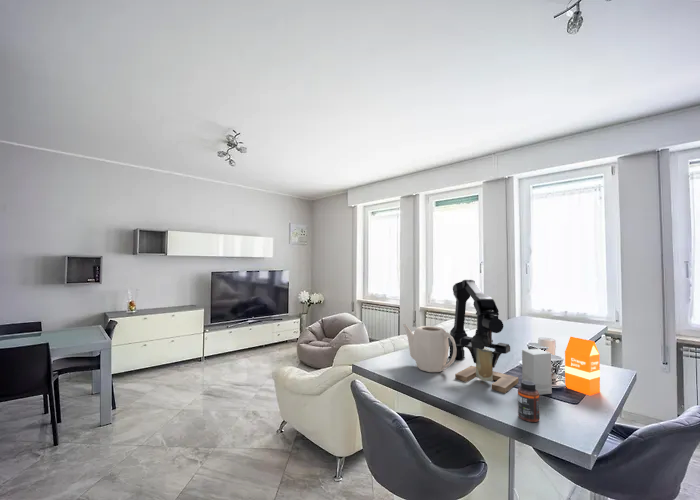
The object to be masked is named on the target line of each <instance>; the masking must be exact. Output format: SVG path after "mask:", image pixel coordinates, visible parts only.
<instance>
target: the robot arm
mask: <svg viewBox="0 0 700 500" xmlns="http://www.w3.org/2000/svg"><path fill="white" fill-rule="evenodd" d="M452 292H453V296H454V298H455V311H454V313H455V314H454V323H453V327H452V328H451V330H450V332H449V334H450V335H451V336H452V337H453V338H454V341H455V344H456V349H457V352H456V358H455V360H456V361H462V360H464V359H466V356H465V353H466V352H465V348H466V349H467V350H469V352H470V354H471V359H472V360H473V363H474V364H476V348H479V349H484V347H486V348H487V349H494V351H493V352H492V353H493V363H492V366H493V369H494V368H495V367H496V365H497V363H498V361H499V360H498V359H499V358H500V356H501V355H502V354H503V355H504V354H508V353H509V352H511V346H510V344H509V343H504V342H498V343H494V340H493V336H492V335H493V333H494V334H499V333H501V332H502V331H503V329H504V322H503V321H502V320H501V319H499V315H500V314H499V309H498V307H497V305H496V301H495V300H494V298H492V297H491V296H490V295H488V294H485V293H484V292H483V291H482V290H481V289H480V288H479V286H478V285H477V284H476V283H475V280H473V279H463V280H461V281H458V282H456V283H454V284H453V286H452ZM470 298H472V300H473V307H474V309H475V315H476V329H475V333H474V335H473V336H472V337H471V336H468V334H467V333H466V331H465V320H466V319H465V318H466V307H467V301H468V300H469V299H470ZM448 342H449V355H448V358H447V359H451V358H452V355H453V343H452V341H451V339H450V338H449V337H448ZM455 360H454V361H455Z"/></svg>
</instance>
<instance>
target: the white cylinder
mask: <svg viewBox="0 0 700 500" xmlns="http://www.w3.org/2000/svg"><path fill="white" fill-rule="evenodd" d="M537 341H538V342H537V343H538V344H539V346H544V347H545V346H546V347H549V348H548V349H547V350H545V351H547V352H549V353H551V354H552V355H555V356H556V350H557V349H556V348H557V346H556V339H553V338H550V337H538V340H537ZM538 344H537V345H538Z"/></svg>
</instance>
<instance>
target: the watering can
mask: <svg viewBox="0 0 700 500" xmlns="http://www.w3.org/2000/svg"><path fill="white" fill-rule="evenodd" d="M403 327H404V329H405V330H404V331H405V334H406V336H407V343H408V347H409V348H408V349H409V355H410V357H411V359H413V360H414V361H415V364H416V366H417V368H418V369H419V370H420V371H424V372H427V373H441V372H442V371H444V370H445V369H447V368H449V367H451V365H452V364H454V362H455V358H456V352H457V349H456V344H455V341H454V338H453V337H452V336H451V335H450V332H449V333H448V332H446V330H445V329H444V328H442V327H439V326H434V325H421V326H417V327H416V328H415V329H414V331H413V332H412V330H411V329H410V328H409V326H408V324H407V323H405V324H403ZM448 337H449V338H450V339H451V341H452V343H453V355H452V358H450V360H449V362H448V359H449V358H448V357H449V351H450V347H449V342H448ZM447 362H448V363H447Z"/></svg>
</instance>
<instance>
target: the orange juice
mask: <svg viewBox="0 0 700 500" xmlns="http://www.w3.org/2000/svg"><path fill="white" fill-rule="evenodd" d="M568 339H569V340H568V342H567V345H566V348H565V351H564V381H565V382H564V386H565V385H566V387H567V388H566V387H565V388H566V389H568V390H572V391H575V392H578V393H581V394H584V395H586V396H587V395H588V396H590V397H591V396H593V395H597V394H599V393H600V392H601V380H600V379H601V367H600V358H601V357H600V355H601V354H600V352H599V350H598V347H597V344H596V343H595V340H589V339H585V338H580V337H574V336H569V338H568Z"/></svg>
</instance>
